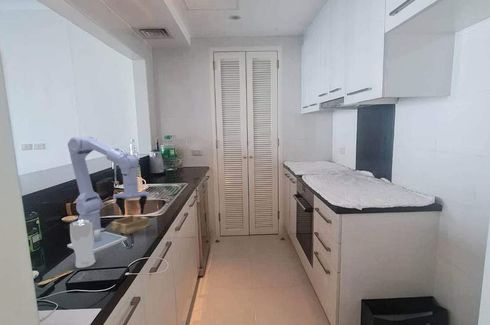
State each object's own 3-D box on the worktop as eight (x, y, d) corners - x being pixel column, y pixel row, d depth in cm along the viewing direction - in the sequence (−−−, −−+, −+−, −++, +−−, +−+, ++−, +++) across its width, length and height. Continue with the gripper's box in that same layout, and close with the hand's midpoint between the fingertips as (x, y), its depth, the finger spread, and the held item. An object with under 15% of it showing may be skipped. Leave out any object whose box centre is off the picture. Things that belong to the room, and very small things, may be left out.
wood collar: (111, 230, 127) (110, 222, 127) (133, 222, 138) (132, 214, 137) (128, 234, 121) (127, 225, 121) (149, 225, 132) (148, 217, 131)
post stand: (67, 247, 110) (65, 234, 109) (104, 233, 123) (103, 221, 123) (90, 254, 102) (88, 240, 101) (127, 239, 115) (126, 226, 115)
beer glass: (101, 260, 96) (97, 219, 95) (84, 270, 90) (79, 226, 88) (86, 258, 99) (82, 218, 97) (69, 267, 92) (63, 225, 91)
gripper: (109, 186, 112) (112, 218, 114) (146, 184, 114) (148, 215, 116) (115, 183, 119) (117, 213, 121) (149, 181, 121) (151, 210, 123)
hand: (133, 214), depth 119 cm, fingers open, 7 cm apart
